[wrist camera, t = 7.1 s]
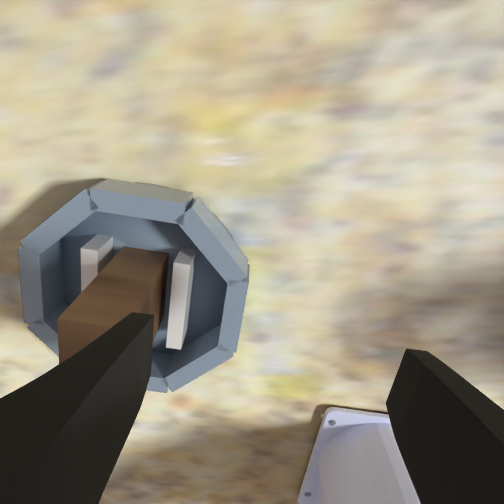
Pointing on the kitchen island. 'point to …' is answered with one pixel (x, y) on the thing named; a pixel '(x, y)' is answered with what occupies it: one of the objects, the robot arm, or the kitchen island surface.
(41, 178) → the kitchen island surface
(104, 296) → the wooden rectangular block
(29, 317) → the blue-grey octagonal tray
